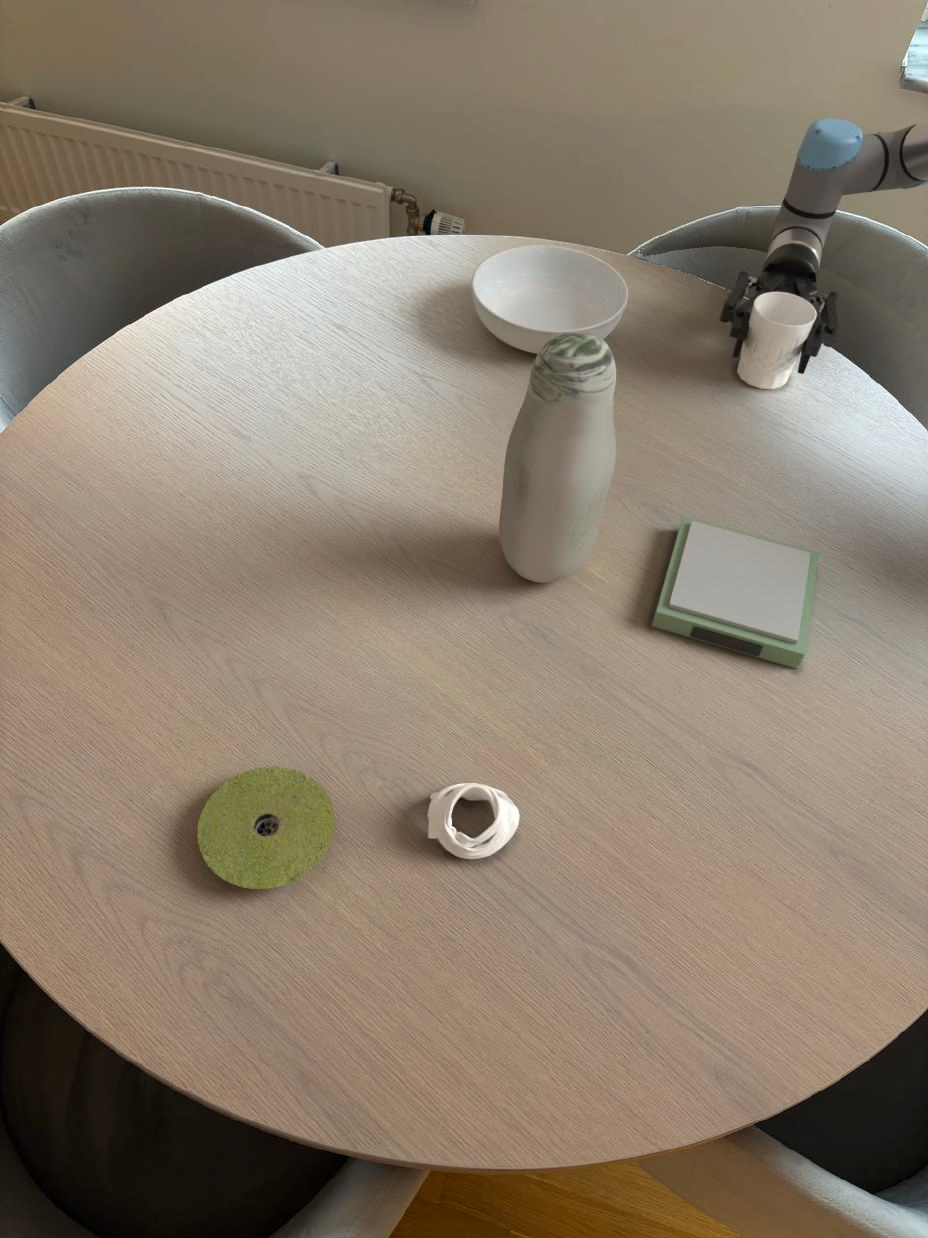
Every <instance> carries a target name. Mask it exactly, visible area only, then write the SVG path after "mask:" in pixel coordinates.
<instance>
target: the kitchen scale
mask: <svg viewBox="0 0 928 1238" xmlns="http://www.w3.org/2000/svg"><path fill="white" fill-rule="evenodd" d="M819 556H820V553H819V552H817V551H813V550H810V549H806V548H802V547H800V546H799V547H798V546H795V545H791V544H787V543H784V542H780V541H776V540H772V539H769V538H765V537H762V536H758V535H754V534H751V533H747V532H744V531H739V530H737V529H732V528H729V527H725V526H721V525H718V524H714V523H712V522H711V523H710V522H706V521H703V520H699V519H696V518H692V517H688V516H686V515H685V516H684V515H683V516H682V519H681V522H680V525H679V528H678V531H677V534H676V538H675V541H674V545H673V548H672V552H671V556H670V558H669V563H668V566H667V569H666V573H665V577H664V581H663V584H662V587H661V591H660V594H659V598H658V601H657V604H656V609H655V612H654V616H653V619H652V623H651V627H653V628H655V629H660V630H661V631H665V632H669V633H673V634H675V635H679V636H683V637H687V638H690V639H693V640H696V641H700V642H703V643H705V644H706V643H707V644H710V645H714V646H717V647H721V648H724V649H727V650H729V651H734V652H737V653H741V654H744V655H747V656H751V657H754V658H758V659H762V660H765V661H768V662H771V663H775V664H779V665H781V666H785V667H788V668H791V669H795V670H796V669H797V670H798V668H799V666H800V664H801V662H802V660H803V659H804V657H805V655H806V649H807V641H808V633H809V627H810V621H811V611H812V607H813V600H814V599H813V598H814V591H815V584H816V577H817V570H818V569H817V568H818V564H819V563H818V562H819Z"/></svg>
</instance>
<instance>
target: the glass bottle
mask: <svg viewBox="0 0 928 1238" xmlns="http://www.w3.org/2000/svg"><path fill="white" fill-rule="evenodd" d="M530 369H531V370H530V375H529V381H528V385H527V389H526V393H525V396H524V399H523V402H522V404H521V406H520V408H519V411H518V413H517V416H516V418H515V421H514V424H513V426H512V429H511V432H510V434H509V438H508V441H507V444H506V445H507V446H506V450H505V456H504V463H503V464H504V467H503V475H502V477H503V478H502V491H501V503H500V511H499V519H498V522H499V523H498V537H499V542H500V546H501V550H502V553H503V556H504V558H505V560H506V562H507V564H508V566H509V567H510V568H511V569H512V570H513V571H515V573H517V575H518V576H520V577H521V578H524V579H526V580H528V581H531V582H534V583H541V584H546V583H553V582H558V581H560V580H564V579H567V578H568V577H570V576H572V575H574V574H575V573H576V572H577V571H578V570H579V569H580V568H581V567H582V566H583V565H585V563H586V561H587V560H588V559H589V557H590V555H591V553H592V551H593V550H594V547H595V544H596V541H597V538H598V535H599V530H600V527H601V522H602V518H603V514H604V511H605V506H606V502H607V498H608V496H609V492H610V487H611V484H612V480H613V474H614V471H615V466H616V458H617V457H616V456H617V439H616V438H617V437H616V429H615V423H614V394H615V389H616V383H617V366H616V361H615V359H614V356H613V353H612V349H611V348H610V346H609V345H608V344H607V342H606V341H605V340H604V339H603V340H602V338H600V337H597V336H595V335H592V334H590V333H584V332H574V333H567V334H563V335H560V336H557V337H555V338H553V339H552V340H550V341H549V342H547V343H546V344H545V345H544V346H543V347H542V349H541V350H540V351H539V353H538V354H537V355H535V358H534V360H533V363H532V366H531V368H530Z"/></svg>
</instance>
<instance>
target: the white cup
mask: <svg viewBox="0 0 928 1238" xmlns="http://www.w3.org/2000/svg"><path fill="white" fill-rule="evenodd" d="M812 305H813V303H812V304H810V303H809V302H808V301H807V300H805V299H803V298H801V297H799V296H797V295H794V294H790V293H785V292H768V293H764V294H761V295H759V296H758V297H757V298H756V299H755V301H754V304H753V308H752V312H751V315H750V319H749V323H748V327H747V331H746V335H745V338H744V342H743V345H742V348H741V351H740V356H739V361H738V365H737V370H736V372H737V374H738V376H739V378H740V379H741V380H742V381H743V382H745V383H746V384H748V385H749V386H752V387H754V388H757V389H762V390H774V389H775V390H776V389H779V388H782V387H783V386H784V385H786V383H787V382H788V380H789V377H790V375H791V373H792V371H793V368H794V366H795V365H796V363H797V362H798V360H799V357H800V355H801V352H802V349H803V346H804V344H805V342H806V340H807V337H808V335H809V333H810V330H811V328H812V326H813V324H814V321H815V319H816V316H817V315H818V313H817V310H816V308H815V307H814V305H813V306H812Z"/></svg>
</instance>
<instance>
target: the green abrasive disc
mask: <svg viewBox="0 0 928 1238" xmlns="http://www.w3.org/2000/svg"><path fill="white" fill-rule="evenodd" d="M334 831H335V813H334V809H333V805H332V802H331V800H330V797H329V796H328V794H327V792H326V791H325V790H324V788H323V787H322V786H321V785H320V784H319V783H318V782H317V781H316V780H315V779H314V778H312V777H310V776H309V775H307V774H306V773H303V772H301V771H298V770H297V769H292V768H288V767H285V766H274V765H273V766H262V767H260V766H259V767H255V768H251V769H250V770H246V771H243V772H241V773H239V774H237V775H235V776H233V777H231V778H229V779H228V780H226V781H225V782H224V783H223V784H222V785H220V786H219V787H218V788H217V789H215V791H214V792H213V793H212V794H211V796H210V797H209V798H208V799H207V801H206V803H205V805H204V807H203V809H202V811H201V813H200V817H199V819H198V823H197V834H196V835H197V836H196V837H197V843H198V849H199V851H200V854H201V856H202V859H203V861H204V862H205V864H206V865H207V867H208V868H210V870H211V872H213V873H214V874H215V875H216V876H218V877H219V878H220V879H222V880H224V881H226V882H228V883H229V884H231V885H233V886H238V887H240V888H242V889H252V890H262V889H263V890H267V889H274V888H279V887H282V886H285V885H288V884H291V883H293V882H295V881H298V879H301V878H302V877H304V876H305V875H306V874H307V873H309V872H311V870H312V869H314V868H315V866H316V865H317V864H318V863H319V862H320V860H321V859H323V857H324V855H325V854H326V852H327V851H328V850H329V849H328V848H329V846H330V845H331V842H332V839H333V836H334Z"/></svg>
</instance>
